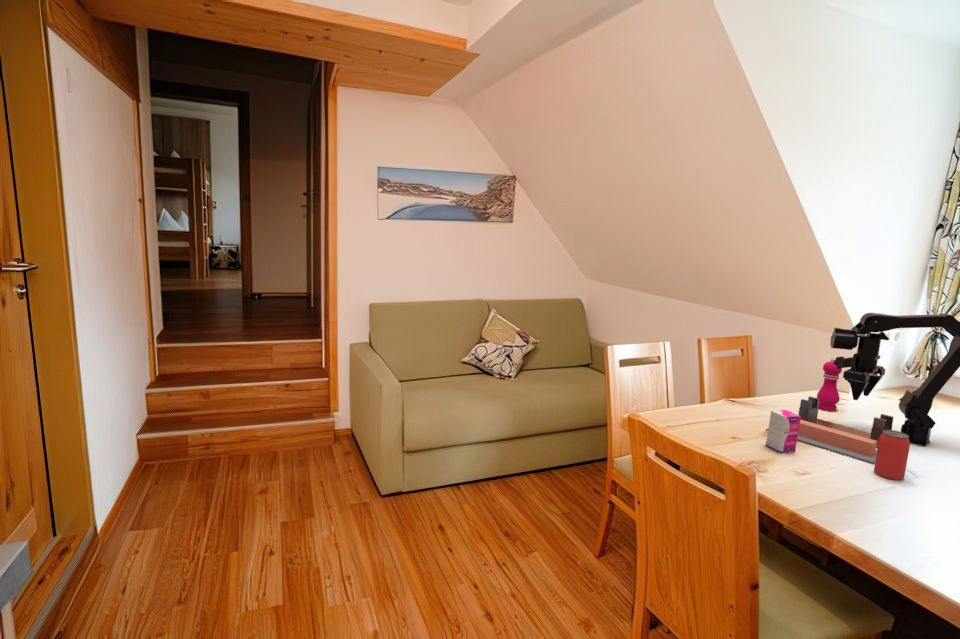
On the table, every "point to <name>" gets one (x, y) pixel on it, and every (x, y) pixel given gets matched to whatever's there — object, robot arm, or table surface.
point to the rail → (838, 438)
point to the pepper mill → (829, 387)
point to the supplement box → (783, 431)
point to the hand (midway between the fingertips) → (860, 397)
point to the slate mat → (837, 449)
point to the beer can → (892, 454)
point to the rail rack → (810, 414)
